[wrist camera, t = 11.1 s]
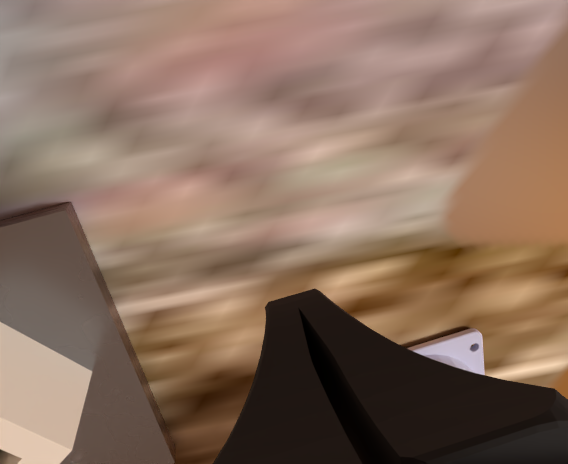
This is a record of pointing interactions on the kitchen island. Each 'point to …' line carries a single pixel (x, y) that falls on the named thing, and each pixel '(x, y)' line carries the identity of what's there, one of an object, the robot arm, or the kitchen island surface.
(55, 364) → the block
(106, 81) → the kitchen island surface
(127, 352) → the flat plate
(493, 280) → the kitchen island surface
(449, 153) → the kitchen island surface
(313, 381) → the robot arm
